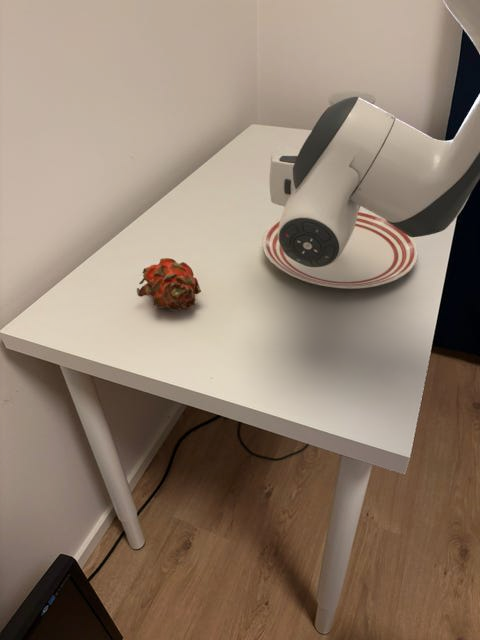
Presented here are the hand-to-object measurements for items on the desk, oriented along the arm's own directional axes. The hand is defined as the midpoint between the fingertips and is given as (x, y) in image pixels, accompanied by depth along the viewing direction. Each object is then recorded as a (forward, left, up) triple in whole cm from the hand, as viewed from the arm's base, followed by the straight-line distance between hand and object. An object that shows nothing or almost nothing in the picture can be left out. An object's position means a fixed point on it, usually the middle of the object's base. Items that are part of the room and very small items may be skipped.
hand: (346, 151), depth 75 cm
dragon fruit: (+24, +20, -20) cm, 37 cm away
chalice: (0, +1, -10) cm, 10 cm away
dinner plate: (0, -1, -20) cm, 20 cm away
